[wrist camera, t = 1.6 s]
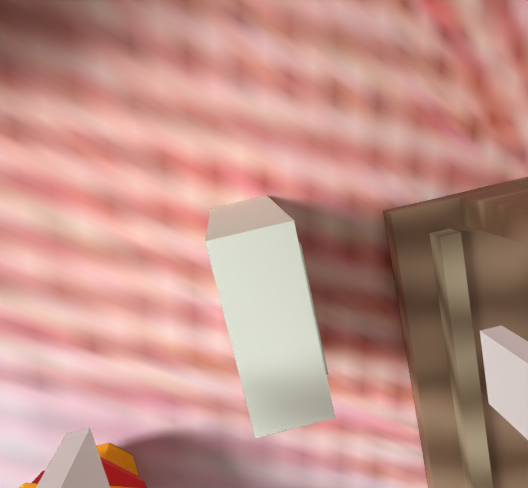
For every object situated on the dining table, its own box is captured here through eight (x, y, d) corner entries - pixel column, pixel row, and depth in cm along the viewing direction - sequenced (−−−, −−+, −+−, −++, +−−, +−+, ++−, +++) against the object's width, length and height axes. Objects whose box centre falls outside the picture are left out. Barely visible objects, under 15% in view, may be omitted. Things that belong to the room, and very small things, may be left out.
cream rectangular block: (211, 208, 31) (205, 241, 20) (270, 194, 31) (300, 218, 20) (243, 338, 33) (255, 438, 22) (299, 324, 34) (341, 416, 22)
